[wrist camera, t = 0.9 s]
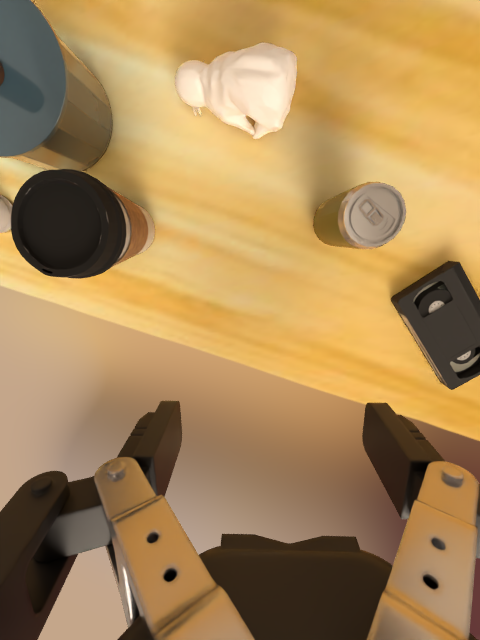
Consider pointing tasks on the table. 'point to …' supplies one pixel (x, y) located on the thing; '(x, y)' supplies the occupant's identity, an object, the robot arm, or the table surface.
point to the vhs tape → (444, 322)
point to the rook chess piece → (5, 214)
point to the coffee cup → (76, 224)
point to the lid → (29, 79)
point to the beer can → (361, 217)
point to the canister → (77, 123)
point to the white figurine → (242, 87)
